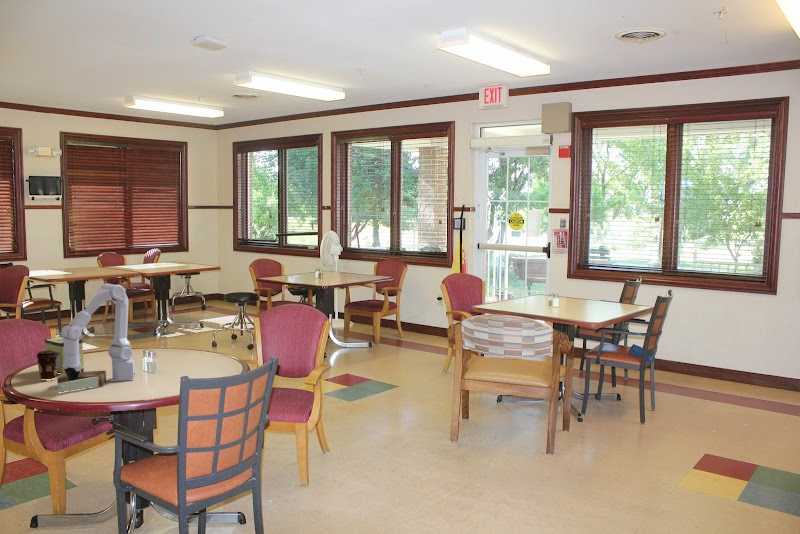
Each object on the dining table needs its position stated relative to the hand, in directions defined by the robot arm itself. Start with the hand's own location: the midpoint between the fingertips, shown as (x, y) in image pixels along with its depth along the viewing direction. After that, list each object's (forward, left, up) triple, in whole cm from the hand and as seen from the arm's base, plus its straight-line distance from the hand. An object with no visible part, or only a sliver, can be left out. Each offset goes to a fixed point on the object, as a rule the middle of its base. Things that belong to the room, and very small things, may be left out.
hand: (73, 384), depth 289 cm
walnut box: (-2, -7, -2) cm, 8 cm away
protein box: (+11, -36, -3) cm, 38 cm away
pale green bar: (-3, +2, -2) cm, 4 cm away
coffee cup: (+15, -21, -3) cm, 26 cm away
